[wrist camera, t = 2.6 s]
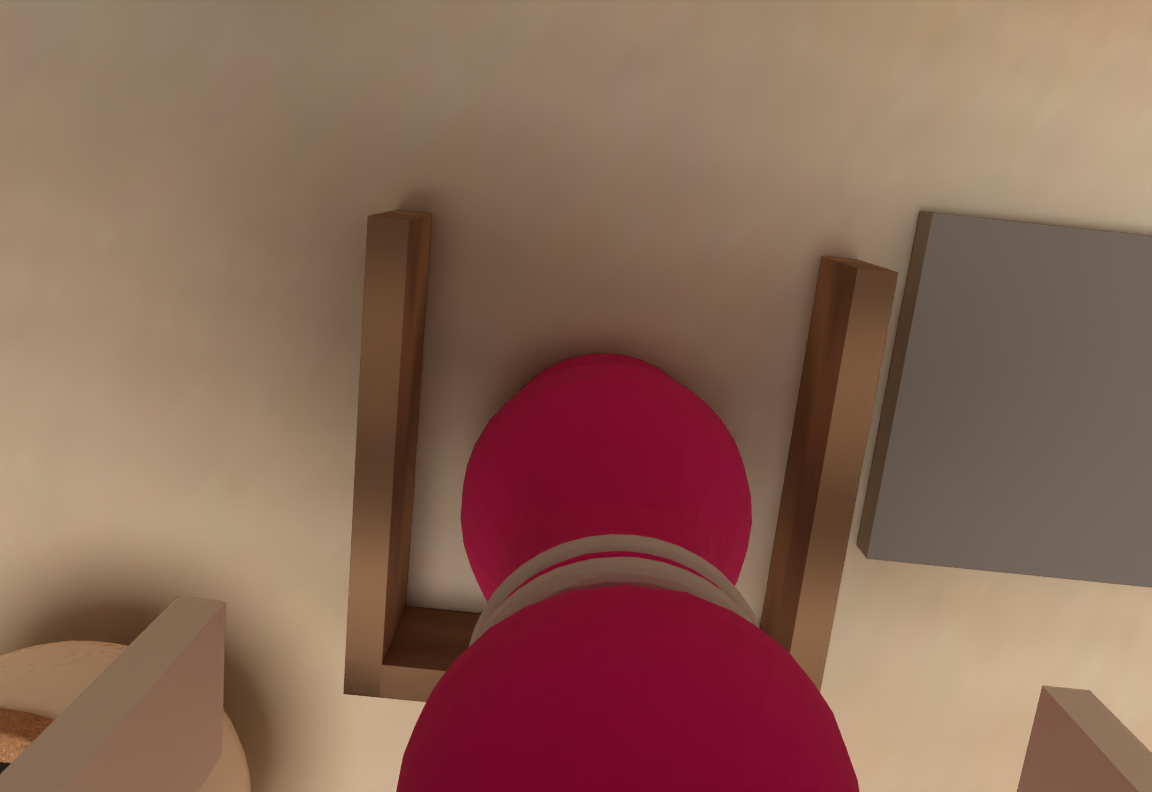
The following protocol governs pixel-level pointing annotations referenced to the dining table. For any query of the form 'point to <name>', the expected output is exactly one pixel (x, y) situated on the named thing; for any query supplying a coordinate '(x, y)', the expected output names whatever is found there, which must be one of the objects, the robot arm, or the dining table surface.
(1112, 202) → the dining table surface
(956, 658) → the dining table surface
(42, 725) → the lidded jar
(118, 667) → the robot arm
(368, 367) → the u-shaped frame
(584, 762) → the pepper mill
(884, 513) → the coaster
